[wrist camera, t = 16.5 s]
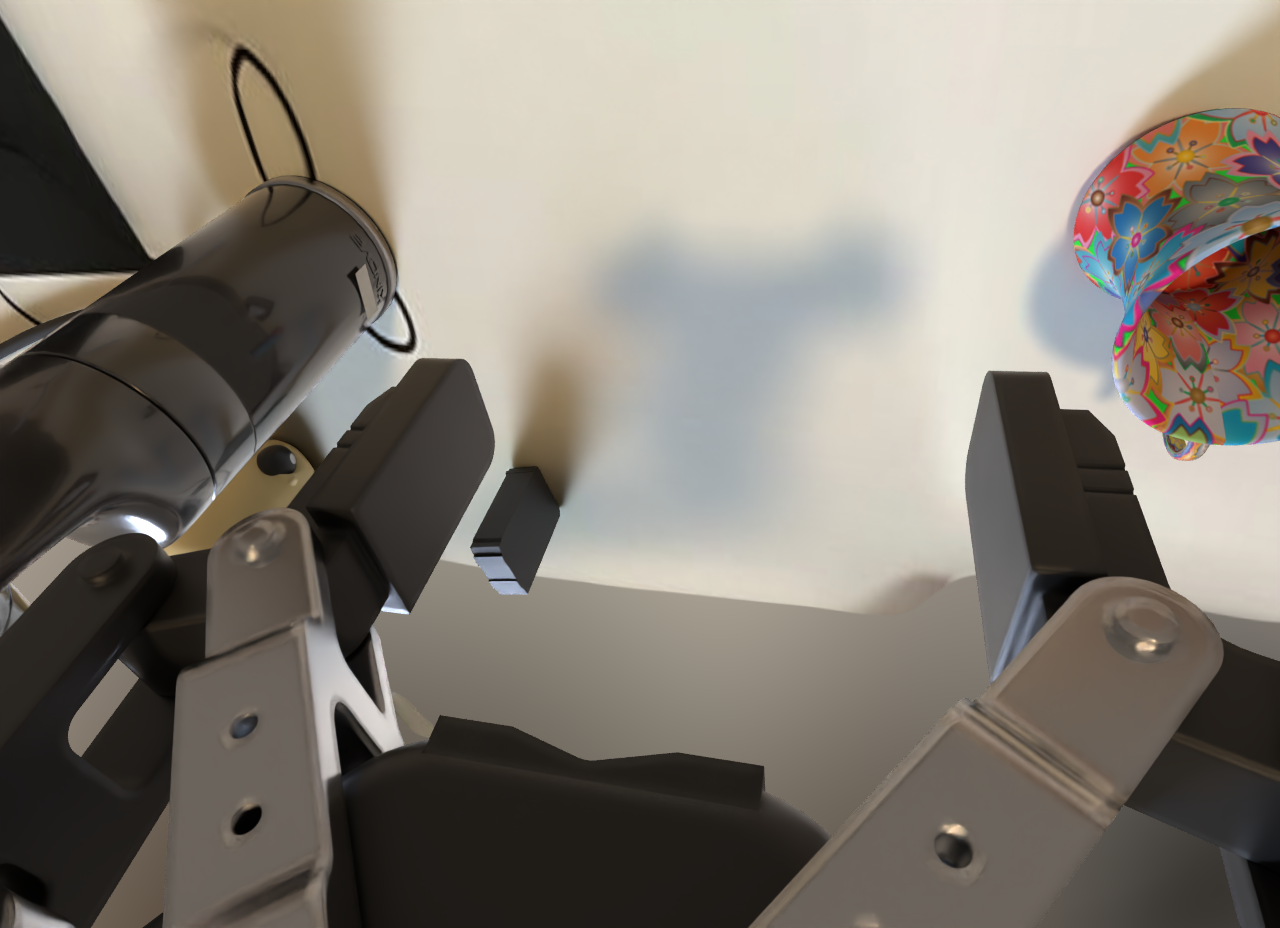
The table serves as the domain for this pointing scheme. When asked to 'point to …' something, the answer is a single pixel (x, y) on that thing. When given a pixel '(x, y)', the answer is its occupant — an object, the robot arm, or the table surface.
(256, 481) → the toy pig
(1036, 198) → the table surface
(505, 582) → the ink cartridge
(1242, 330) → the mug
